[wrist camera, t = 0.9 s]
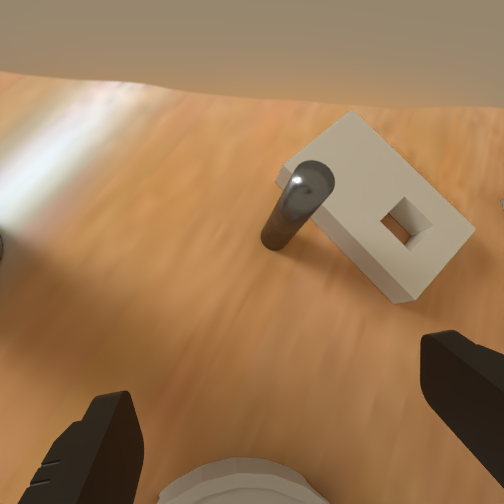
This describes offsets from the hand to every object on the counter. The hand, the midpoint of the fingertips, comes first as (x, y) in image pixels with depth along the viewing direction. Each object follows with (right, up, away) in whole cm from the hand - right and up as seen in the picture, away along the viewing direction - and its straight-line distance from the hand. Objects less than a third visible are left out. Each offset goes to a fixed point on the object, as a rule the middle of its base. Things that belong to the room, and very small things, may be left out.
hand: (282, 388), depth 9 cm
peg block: (+13, +9, +30) cm, 34 cm away
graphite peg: (+2, +5, +28) cm, 28 cm away
